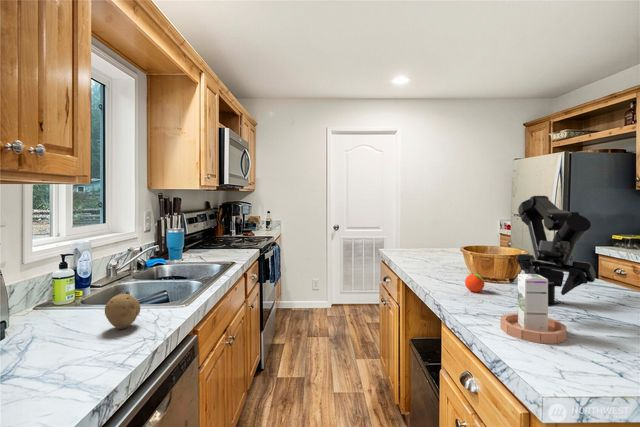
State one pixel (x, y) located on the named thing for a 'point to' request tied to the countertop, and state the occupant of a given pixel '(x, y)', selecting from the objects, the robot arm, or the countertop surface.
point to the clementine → (474, 282)
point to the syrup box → (533, 302)
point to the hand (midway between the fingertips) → (543, 290)
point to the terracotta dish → (553, 336)
